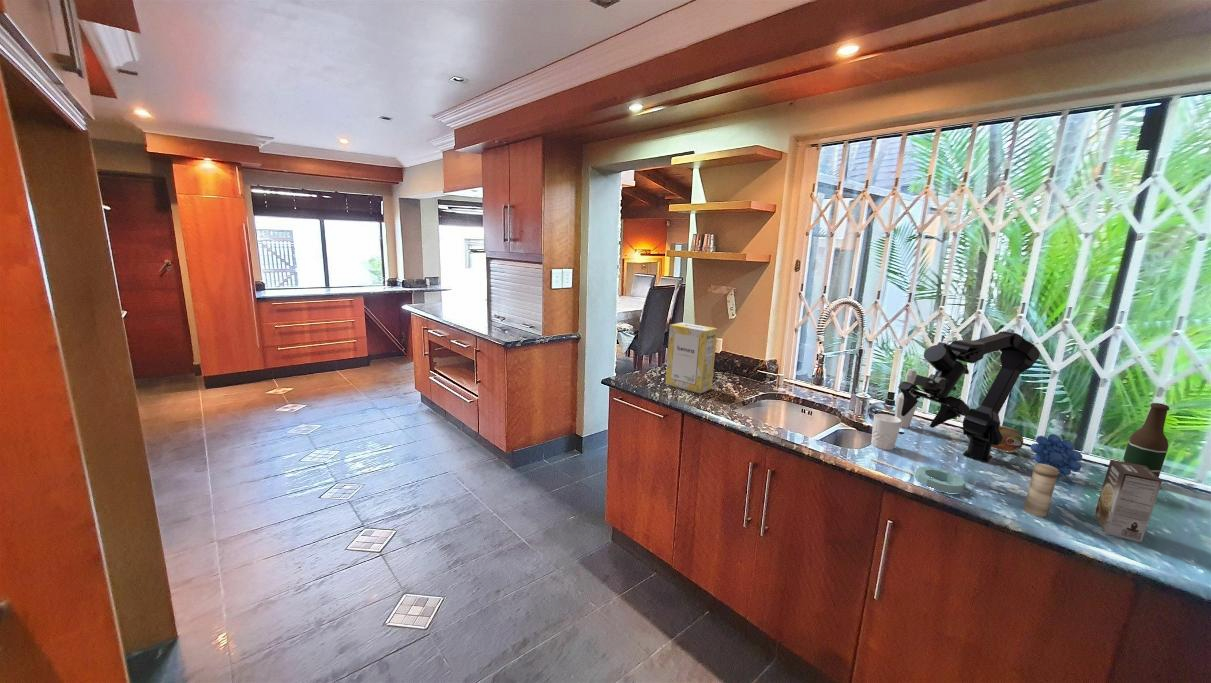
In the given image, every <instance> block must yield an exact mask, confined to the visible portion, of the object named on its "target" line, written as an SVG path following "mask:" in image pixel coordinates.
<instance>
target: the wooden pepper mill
mask: <svg viewBox="0 0 1211 683" xmlns="http://www.w3.org/2000/svg"><path fill="white" fill-rule="evenodd" d="M1058 477H1059V470H1058V469H1057V468H1055V467H1052V466H1050V465H1046V464H1041V463H1037V462H1035V464H1034V466H1033V469H1032V475H1031V479H1030V482H1029V486H1028V490H1027V493H1026V498H1025V501H1024V505H1023V510H1024V512H1026V513H1027V514H1029V515H1031V516H1032V515H1033V516H1036V517H1039V518H1046V517H1047V515H1048V511H1049V508H1050V504H1051V500H1052V497H1053V493H1054V490H1055V487H1056V482H1057V478H1058Z"/></svg>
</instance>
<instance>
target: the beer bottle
mask: <svg viewBox="0 0 1211 683" xmlns="http://www.w3.org/2000/svg"><path fill="white" fill-rule="evenodd" d="M1149 407H1150V409H1149V411H1148V414H1147V416H1146V419H1145V421H1144V422H1143V425H1142V427H1140V428H1138V429H1136V430H1134V432H1133V433H1132V434H1131V435H1130V437H1129V439H1128V442H1127V444H1126V445H1127V446H1126V448H1125V451H1124V456H1123V457H1122V462H1127V463H1132V464H1138V465H1143V466H1147V467H1148V468H1149V469H1150V470H1151V471H1152V472H1153V473H1154V474H1155V475H1156V476H1157V477H1158V478H1160V474H1161V471H1162V469H1163V464H1164V461H1165V459H1166V457H1167V453H1168V448H1169V441H1168V438H1167V436H1166V435H1165V434H1164V432H1165V431H1164V426H1165V423H1166V420H1167V414H1168V411H1170V406H1169V405H1167V404H1164V403H1159V402H1152V403H1150V404H1149Z"/></svg>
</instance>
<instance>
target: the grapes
mask: <svg viewBox="0 0 1211 683" xmlns="http://www.w3.org/2000/svg"><path fill="white" fill-rule="evenodd" d="M1035 442H1036V443H1032V444H1030V450H1031V451H1032V452H1033V453H1034V455H1033V460H1034V461H1035V463H1041V464H1046V465H1050V466H1052V467H1055V468H1057V469H1058V470H1059V472H1058V474H1060V475H1062V476H1066V477H1067V476H1070V475H1071V474H1072V471H1073V472H1079V471H1080V470H1081V469H1082V465H1081V464H1080V461H1082V460H1083V454H1082V453H1081V452H1079V451H1078V450H1075V444H1074V443H1073V442H1072V441H1070V440H1069V439H1064V440H1063V439H1062V438H1061V437H1060V436H1059V435H1057V434H1049V435H1048V437H1046V436H1044V435H1038V436H1036V438H1035Z"/></svg>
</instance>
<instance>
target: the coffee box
mask: <svg viewBox="0 0 1211 683" xmlns="http://www.w3.org/2000/svg"><path fill="white" fill-rule="evenodd" d="M1109 460H1110V461H1109V464H1108V468H1107V470H1106V473H1105V478H1104V480H1103V483H1102V486H1101V490H1100V493H1099V497H1098V500H1097V504H1096V508H1095V511H1094V513H1093V514H1094V515H1093V518H1094V519H1095V520H1096V522H1097V523H1098V524H1099V526H1100V527H1101V529H1102V530H1103V531H1104V533H1105V534H1107V535H1110V536H1113V537H1117V538H1120V539H1121V538H1122V539H1126V540H1130V541H1133V542H1137V543H1143V539H1144V537H1145V534H1146V530H1147V528H1148V526H1149V522H1150V519H1151V516H1152V513H1153V511H1154V507H1155V504H1156V501H1157V498H1158V496H1159V492H1160V490H1161V487H1162V483H1163V480H1162V479H1160V477H1159V478H1158V477H1157V476H1156V475H1155V474H1154V473H1153V472H1152V471H1151V470H1150V469H1149V468H1148V467H1147V466H1143V465H1138V464H1132V463H1127V462H1122V461H1123V460H1122V461H1120V460H1116V459H1109Z"/></svg>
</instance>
